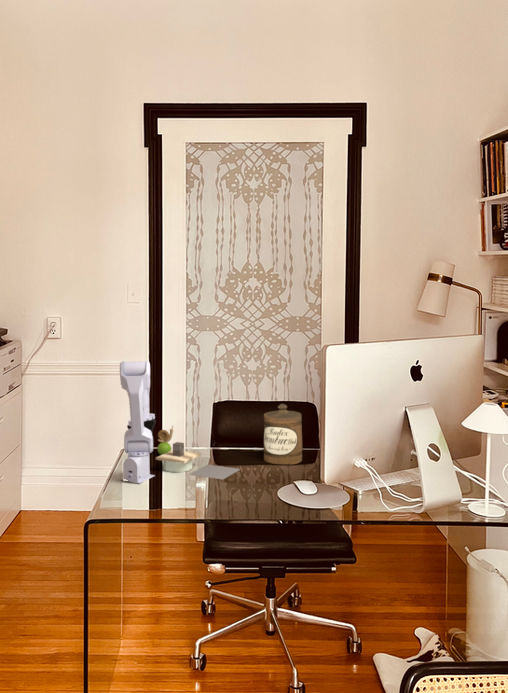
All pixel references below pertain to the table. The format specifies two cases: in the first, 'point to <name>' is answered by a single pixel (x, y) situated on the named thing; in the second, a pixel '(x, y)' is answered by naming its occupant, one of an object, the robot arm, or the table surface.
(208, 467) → the mat
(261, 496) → the table surface
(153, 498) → the table surface
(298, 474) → the table surface
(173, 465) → the bowl
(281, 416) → the wooden container
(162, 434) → the snail figurine
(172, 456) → the lid
